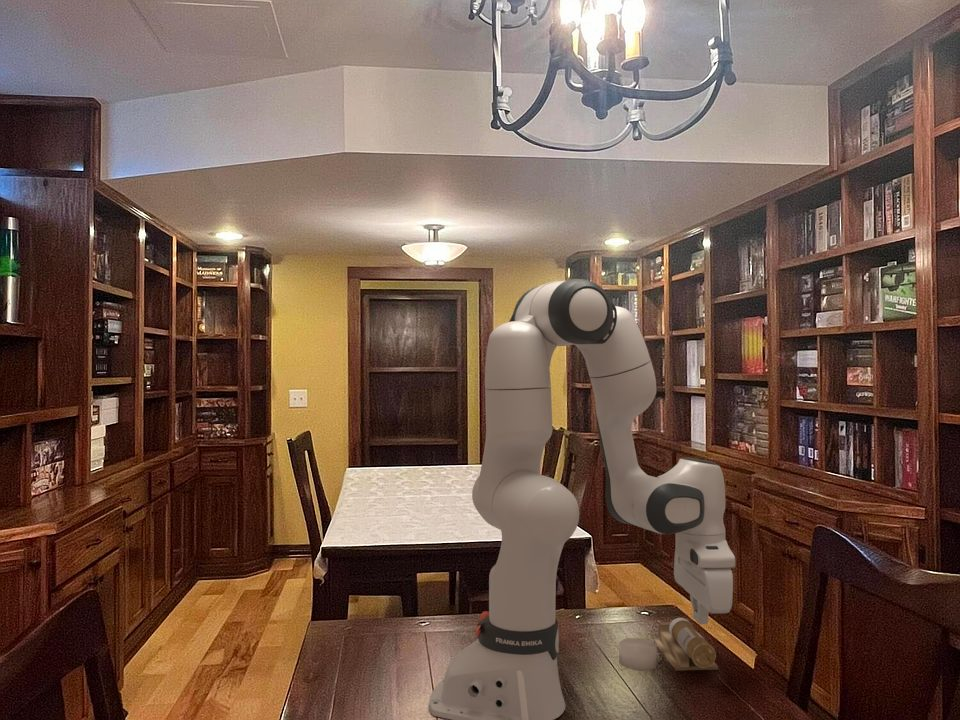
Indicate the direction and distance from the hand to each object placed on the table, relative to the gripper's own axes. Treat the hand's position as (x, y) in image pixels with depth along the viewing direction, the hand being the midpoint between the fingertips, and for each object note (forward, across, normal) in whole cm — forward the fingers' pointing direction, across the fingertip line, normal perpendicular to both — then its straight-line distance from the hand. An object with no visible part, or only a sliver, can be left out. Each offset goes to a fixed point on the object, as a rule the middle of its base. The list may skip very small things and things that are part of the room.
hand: (700, 621), depth 132 cm
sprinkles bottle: (+6, +2, 0) cm, 6 cm away
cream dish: (+10, -6, -10) cm, 15 cm away
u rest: (+10, -9, 0) cm, 13 cm away
